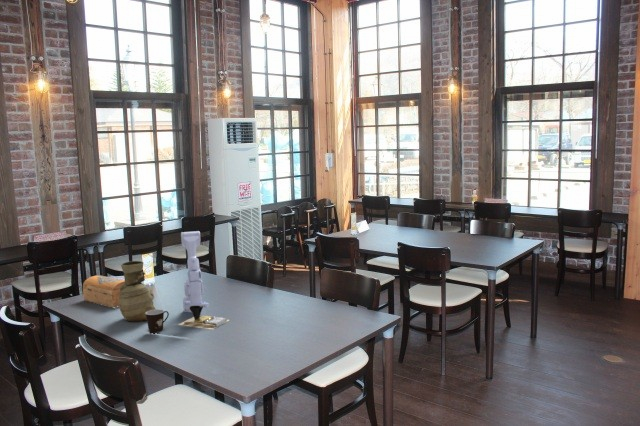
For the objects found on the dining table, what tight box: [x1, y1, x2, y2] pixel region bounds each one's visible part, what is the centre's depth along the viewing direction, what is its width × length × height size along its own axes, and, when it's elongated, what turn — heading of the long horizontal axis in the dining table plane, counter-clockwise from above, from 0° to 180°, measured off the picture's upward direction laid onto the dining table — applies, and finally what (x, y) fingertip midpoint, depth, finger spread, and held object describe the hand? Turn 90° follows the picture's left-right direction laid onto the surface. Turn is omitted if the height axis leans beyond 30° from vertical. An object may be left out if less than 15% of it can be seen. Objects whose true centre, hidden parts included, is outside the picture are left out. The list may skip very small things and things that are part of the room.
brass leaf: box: [194, 315, 213, 323], centre depth 290 cm, size 7×8×2 cm
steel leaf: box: [204, 316, 226, 328], centre depth 288 cm, size 7×8×2 cm
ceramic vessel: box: [118, 260, 156, 323], centre depth 303 cm, size 19×21×30 cm
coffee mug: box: [145, 308, 170, 335], centre depth 282 cm, size 12×9×10 cm
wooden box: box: [82, 274, 125, 308], centre depth 337 cm, size 30×16×14 cm, turn 52°
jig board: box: [177, 315, 230, 330], centre depth 291 cm, size 21×15×2 cm
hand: (197, 320), depth 292 cm, fingers closed
